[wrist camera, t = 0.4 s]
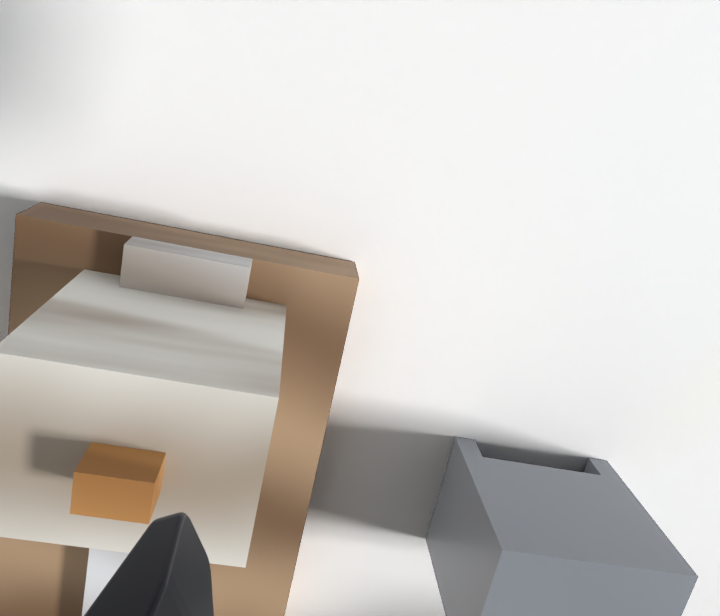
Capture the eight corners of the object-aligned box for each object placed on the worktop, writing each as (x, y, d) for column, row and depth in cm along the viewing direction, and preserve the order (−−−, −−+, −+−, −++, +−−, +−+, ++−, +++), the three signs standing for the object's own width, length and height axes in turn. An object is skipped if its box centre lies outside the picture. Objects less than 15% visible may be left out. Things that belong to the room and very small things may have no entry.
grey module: (571, 558, 27) (646, 695, 21) (425, 538, 27) (461, 675, 20) (606, 460, 26) (698, 576, 20) (455, 436, 25) (502, 550, 19)
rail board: (263, 681, 28) (242, 969, 19) (7, 654, 27) (-146, 951, 18) (354, 262, 23) (387, 384, 14) (41, 202, 21) (-153, 294, 12)
